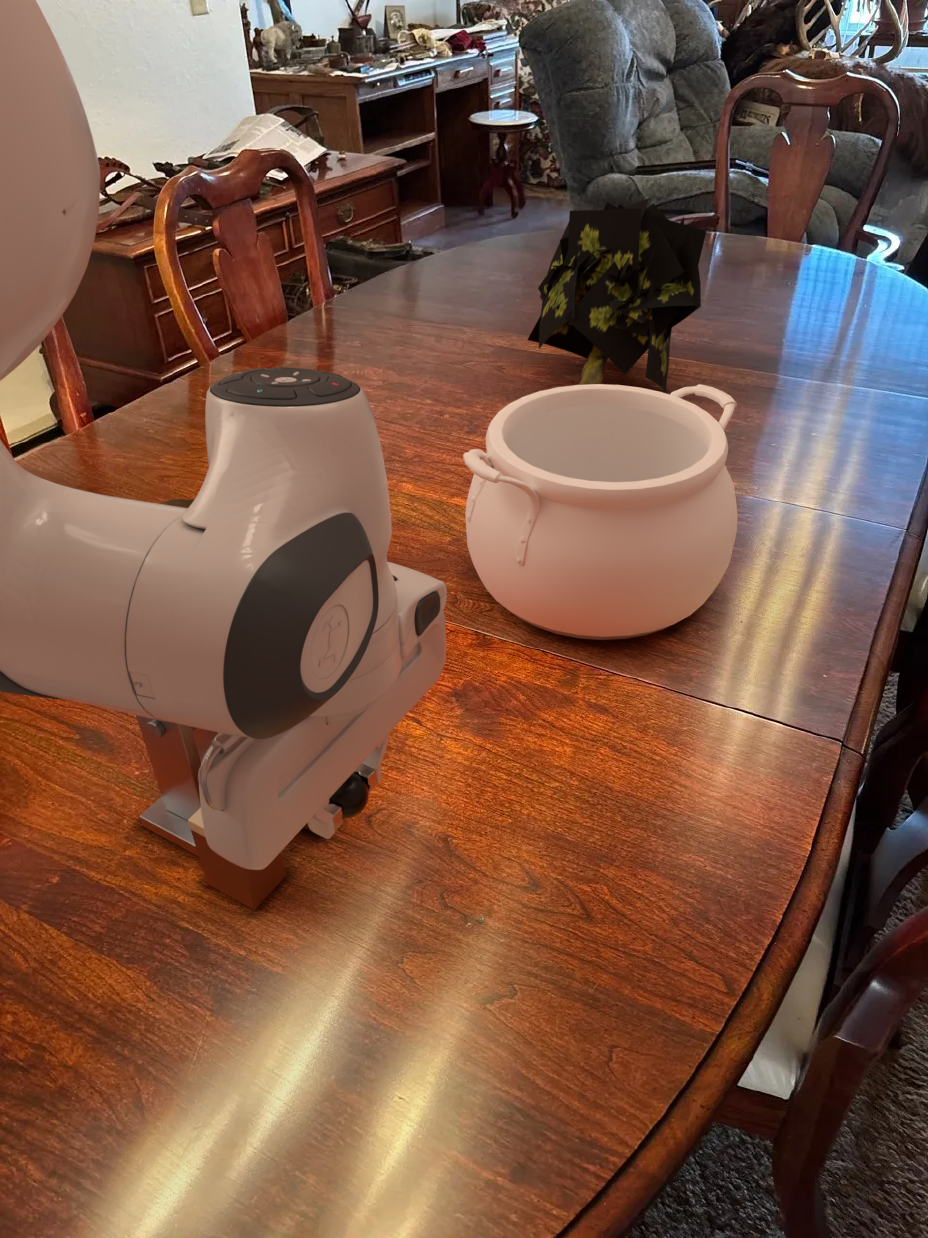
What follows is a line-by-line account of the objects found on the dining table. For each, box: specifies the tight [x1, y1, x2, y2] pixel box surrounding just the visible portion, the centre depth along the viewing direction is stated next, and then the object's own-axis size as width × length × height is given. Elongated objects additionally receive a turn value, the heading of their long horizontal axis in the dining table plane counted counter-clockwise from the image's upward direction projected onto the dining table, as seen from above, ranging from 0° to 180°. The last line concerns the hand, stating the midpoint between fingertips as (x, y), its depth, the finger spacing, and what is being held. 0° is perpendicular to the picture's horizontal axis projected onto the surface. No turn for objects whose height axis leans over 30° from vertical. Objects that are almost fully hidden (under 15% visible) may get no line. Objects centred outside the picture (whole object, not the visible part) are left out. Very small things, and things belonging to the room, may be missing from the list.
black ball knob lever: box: [191, 727, 370, 820], centre depth 63 cm, size 17×3×3 cm, turn 60°
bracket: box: [135, 715, 216, 858], centre depth 68 cm, size 7×8×13 cm
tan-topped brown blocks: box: [188, 808, 321, 911], centre depth 67 cm, size 11×4×7 cm, turn 149°
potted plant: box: [527, 197, 708, 394], centre depth 129 cm, size 21×22×30 cm
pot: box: [462, 383, 739, 641], centre depth 90 cm, size 29×26×17 cm
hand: (347, 805), depth 61 cm, fingers closed on black ball knob lever, 3 cm apart
